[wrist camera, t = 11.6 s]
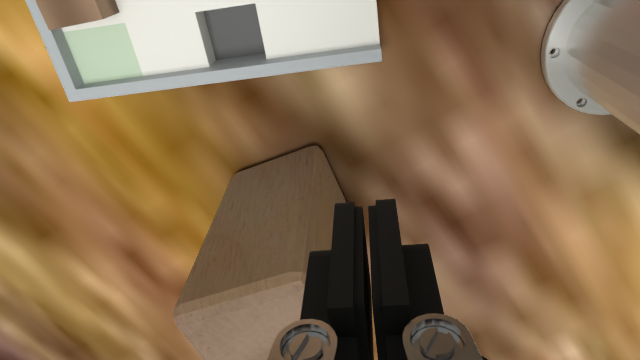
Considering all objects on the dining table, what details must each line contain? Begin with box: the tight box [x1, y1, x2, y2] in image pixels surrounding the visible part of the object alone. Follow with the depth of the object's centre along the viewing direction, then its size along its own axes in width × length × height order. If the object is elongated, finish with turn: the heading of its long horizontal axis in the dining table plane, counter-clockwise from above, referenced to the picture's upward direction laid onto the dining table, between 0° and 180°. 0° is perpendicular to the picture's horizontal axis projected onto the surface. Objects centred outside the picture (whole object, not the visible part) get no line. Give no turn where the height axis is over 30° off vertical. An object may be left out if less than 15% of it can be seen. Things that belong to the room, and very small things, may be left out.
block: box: [174, 146, 346, 360], centre depth 39 cm, size 10×10×20 cm
